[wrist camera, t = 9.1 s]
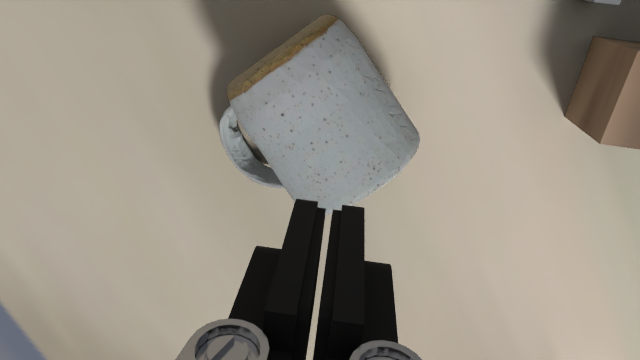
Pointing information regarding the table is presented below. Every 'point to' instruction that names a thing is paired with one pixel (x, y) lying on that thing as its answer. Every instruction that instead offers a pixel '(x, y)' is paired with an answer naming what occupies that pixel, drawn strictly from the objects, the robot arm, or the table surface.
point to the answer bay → (607, 1)
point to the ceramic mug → (318, 119)
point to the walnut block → (609, 93)
